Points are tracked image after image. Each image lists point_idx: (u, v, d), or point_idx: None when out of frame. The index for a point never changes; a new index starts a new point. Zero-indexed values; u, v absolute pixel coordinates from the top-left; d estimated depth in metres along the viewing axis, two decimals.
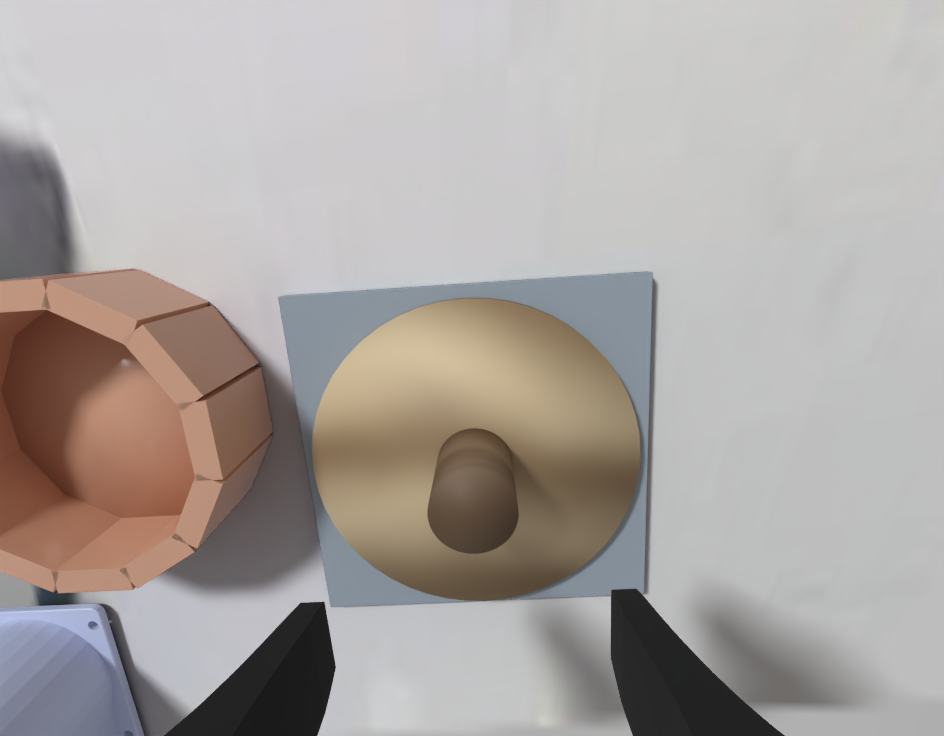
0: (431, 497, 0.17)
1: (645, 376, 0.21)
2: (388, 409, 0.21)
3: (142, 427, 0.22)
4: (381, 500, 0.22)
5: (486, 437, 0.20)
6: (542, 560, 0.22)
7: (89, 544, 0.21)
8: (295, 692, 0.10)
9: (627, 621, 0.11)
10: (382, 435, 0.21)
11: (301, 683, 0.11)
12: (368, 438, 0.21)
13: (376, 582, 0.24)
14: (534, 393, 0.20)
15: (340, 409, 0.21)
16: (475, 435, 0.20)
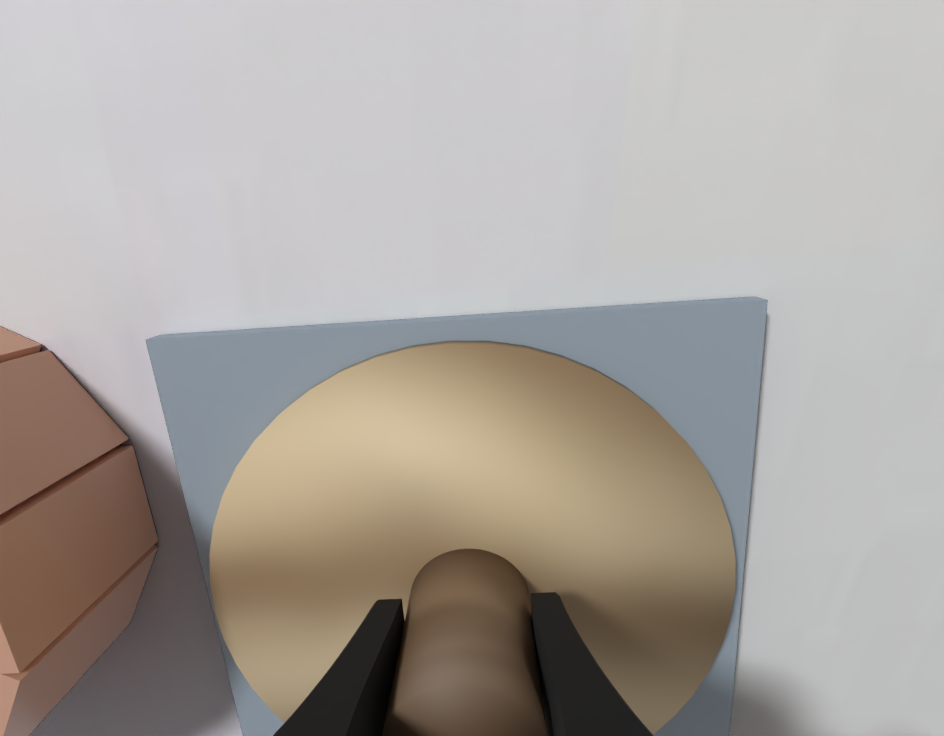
0: (387, 722, 0.09)
1: (745, 465, 0.13)
2: (329, 519, 0.13)
3: None
4: (324, 653, 0.14)
5: (488, 571, 0.12)
6: None
7: None
8: (386, 689, 0.10)
9: (536, 625, 0.11)
10: (321, 558, 0.13)
11: (389, 680, 0.11)
12: (298, 562, 0.13)
13: None
14: (566, 495, 0.12)
15: (252, 520, 0.13)
16: (469, 568, 0.12)
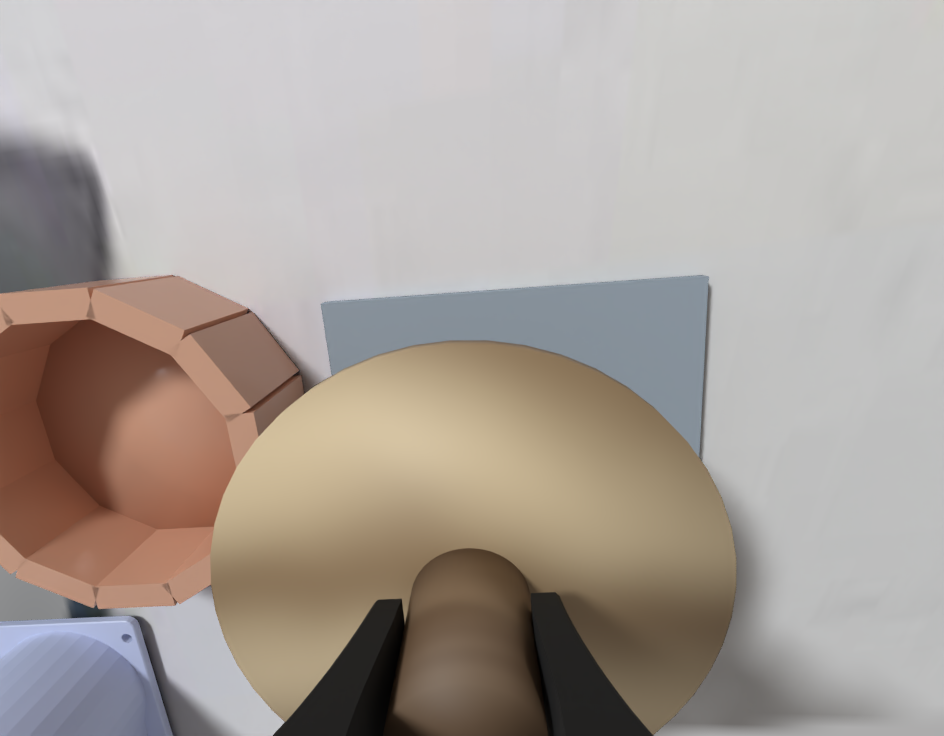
0: (388, 721, 0.09)
1: (698, 383, 0.20)
2: (330, 519, 0.13)
3: (180, 437, 0.21)
4: (325, 652, 0.14)
5: (489, 570, 0.12)
6: None
7: (127, 558, 0.20)
8: (386, 689, 0.10)
9: (536, 625, 0.11)
10: (322, 558, 0.13)
11: (389, 680, 0.11)
12: (299, 562, 0.13)
13: None
14: (567, 495, 0.12)
15: (253, 520, 0.13)
16: (470, 568, 0.12)
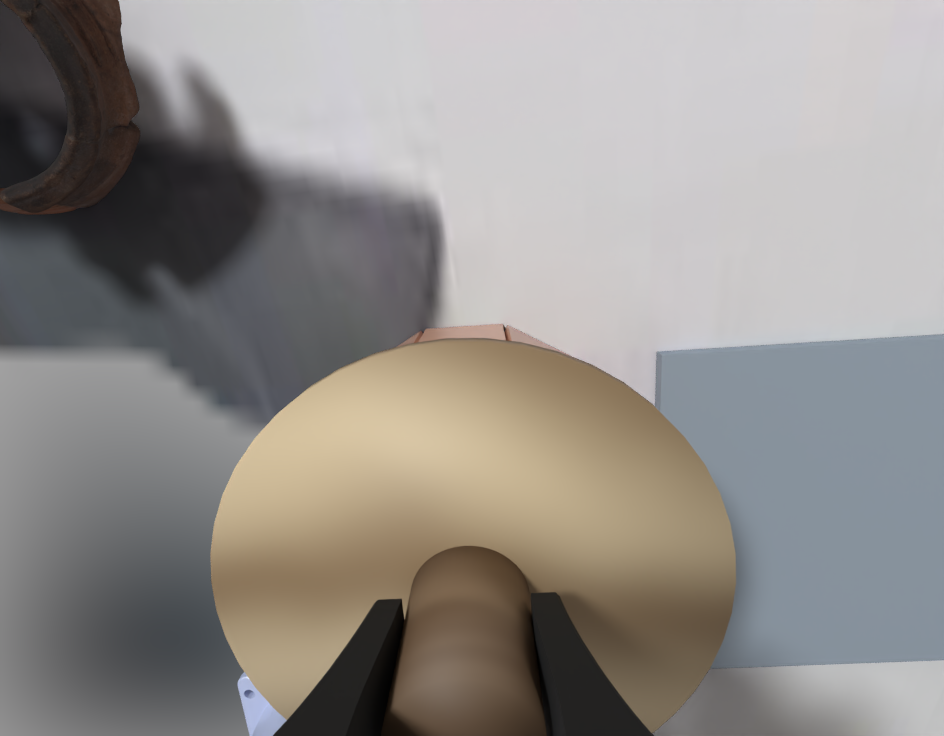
0: (386, 718, 0.09)
1: None
2: (328, 518, 0.13)
3: None
4: (326, 651, 0.14)
5: (487, 568, 0.12)
6: None
7: None
8: (386, 689, 0.10)
9: (536, 625, 0.11)
10: (321, 556, 0.13)
11: (389, 680, 0.11)
12: (299, 561, 0.13)
13: None
14: (564, 492, 0.12)
15: (252, 519, 0.13)
16: (469, 565, 0.12)
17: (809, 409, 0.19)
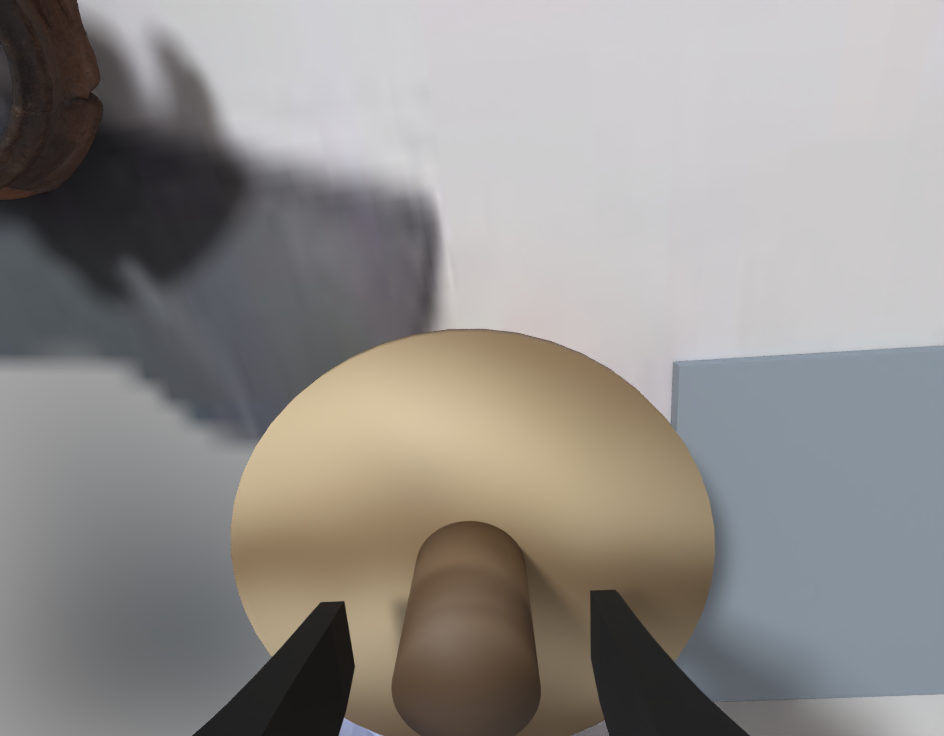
0: (397, 666, 0.11)
1: None
2: (340, 495, 0.14)
3: None
4: None
5: (486, 539, 0.13)
6: (569, 699, 0.16)
7: None
8: (319, 691, 0.10)
9: (603, 622, 0.11)
10: (333, 531, 0.14)
11: (324, 682, 0.11)
12: (313, 535, 0.14)
13: (723, 677, 0.21)
14: (557, 470, 0.14)
15: (270, 496, 0.14)
16: (470, 537, 0.13)
17: (840, 424, 0.18)
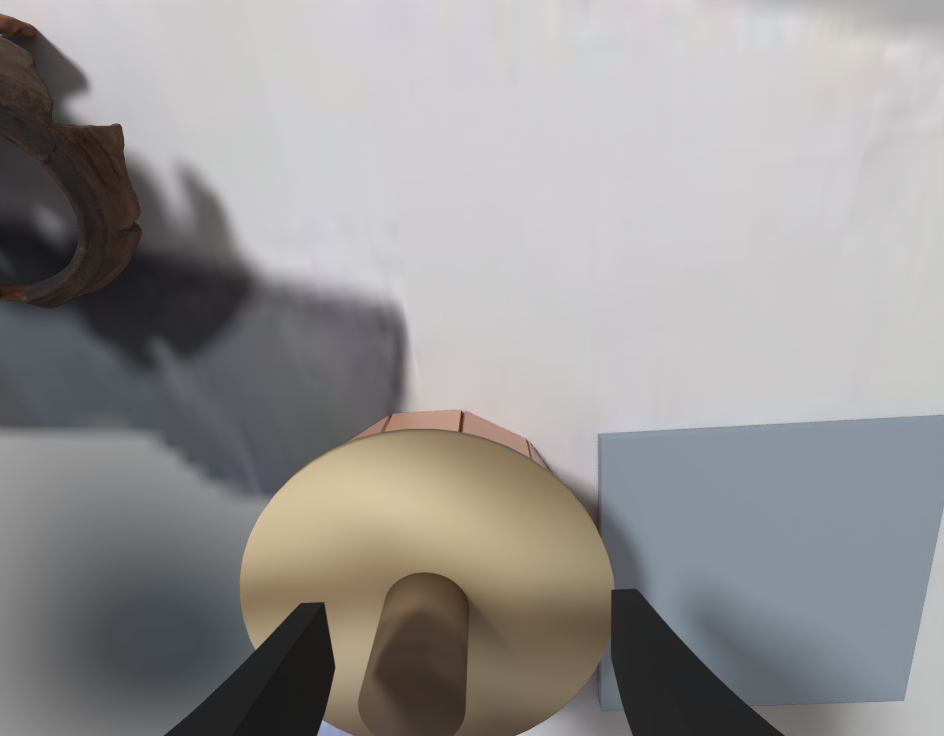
0: (362, 689, 0.15)
1: (938, 510, 0.22)
2: (324, 553, 0.18)
3: None
4: None
5: (436, 588, 0.17)
6: (507, 709, 0.20)
7: None
8: (295, 692, 0.11)
9: (627, 621, 0.11)
10: (319, 580, 0.18)
11: (301, 683, 0.11)
12: (303, 583, 0.18)
13: None
14: (491, 534, 0.18)
15: (270, 553, 0.18)
16: (423, 587, 0.17)
17: (733, 485, 0.22)
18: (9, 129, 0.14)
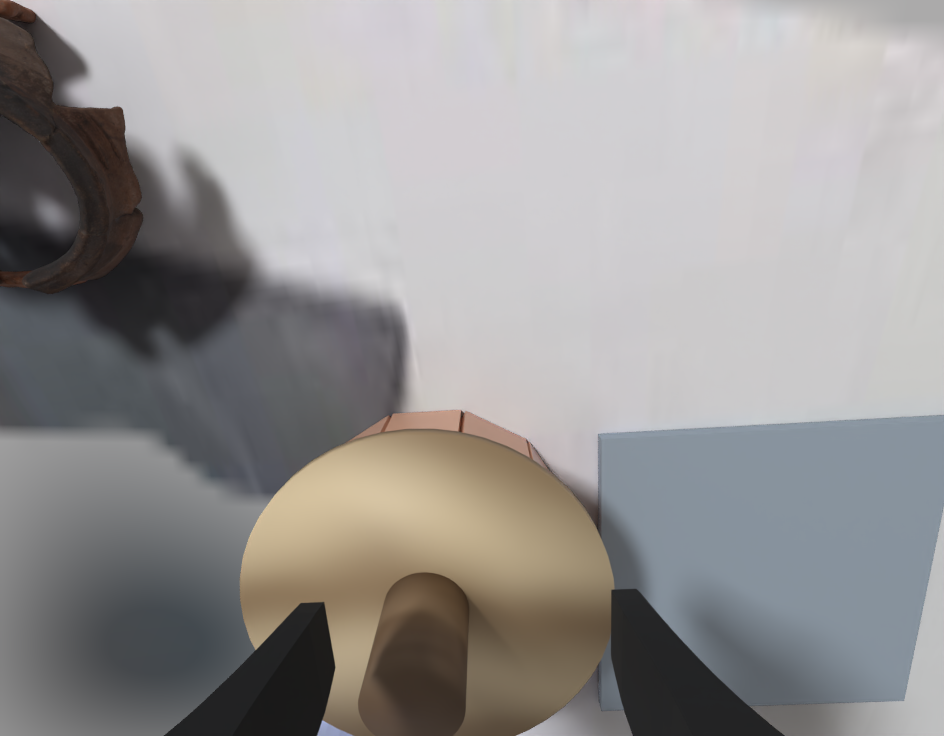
0: (362, 689, 0.15)
1: (938, 510, 0.22)
2: (324, 553, 0.18)
3: None
4: None
5: (436, 588, 0.17)
6: (507, 709, 0.20)
7: None
8: (295, 692, 0.11)
9: (627, 621, 0.11)
10: (319, 580, 0.18)
11: (301, 683, 0.11)
12: (303, 583, 0.18)
13: None
14: (491, 534, 0.18)
15: (270, 553, 0.18)
16: (423, 587, 0.17)
17: (733, 485, 0.22)
18: (9, 109, 0.14)
